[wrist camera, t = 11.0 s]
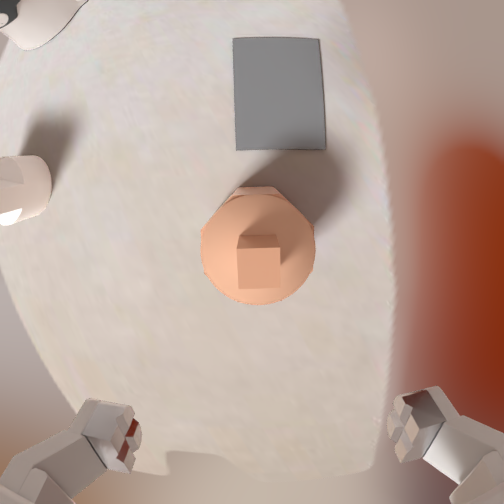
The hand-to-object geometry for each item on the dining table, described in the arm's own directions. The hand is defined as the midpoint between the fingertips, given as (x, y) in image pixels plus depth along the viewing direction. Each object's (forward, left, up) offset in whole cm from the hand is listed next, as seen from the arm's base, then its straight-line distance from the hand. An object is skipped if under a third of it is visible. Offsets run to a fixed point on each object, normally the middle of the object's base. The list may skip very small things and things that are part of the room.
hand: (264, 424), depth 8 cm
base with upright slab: (-8, -32, -28) cm, 43 cm away
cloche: (0, 0, -28) cm, 28 cm away
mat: (-16, +3, -28) cm, 32 cm away
